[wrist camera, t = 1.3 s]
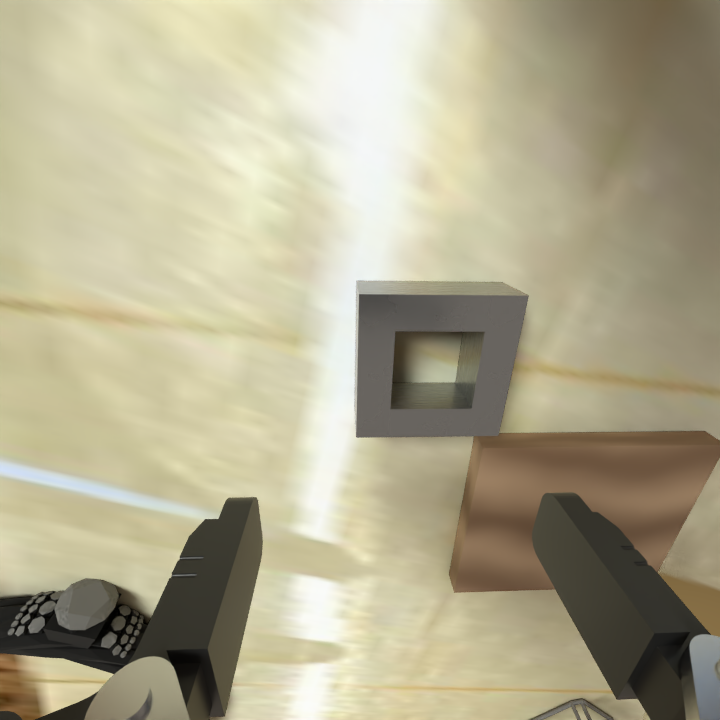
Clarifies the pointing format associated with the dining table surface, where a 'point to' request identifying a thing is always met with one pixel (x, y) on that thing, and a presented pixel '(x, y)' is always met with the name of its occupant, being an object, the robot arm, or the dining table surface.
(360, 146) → the dining table surface
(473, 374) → the grey square frame
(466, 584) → the keeper block
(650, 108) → the dining table surface
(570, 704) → the geometric lantern
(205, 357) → the dining table surface
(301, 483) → the dining table surface
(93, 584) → the black studded ring
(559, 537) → the robot arm
